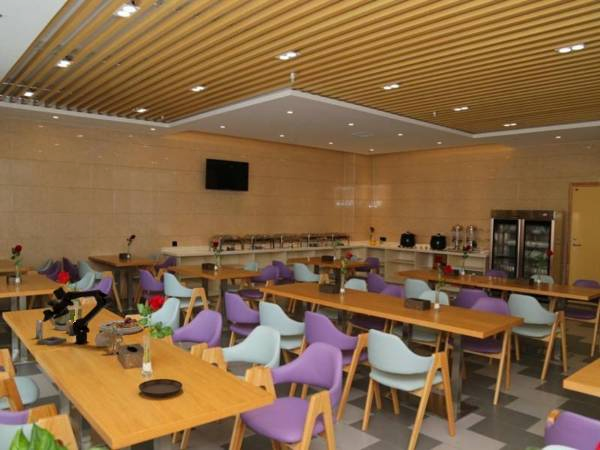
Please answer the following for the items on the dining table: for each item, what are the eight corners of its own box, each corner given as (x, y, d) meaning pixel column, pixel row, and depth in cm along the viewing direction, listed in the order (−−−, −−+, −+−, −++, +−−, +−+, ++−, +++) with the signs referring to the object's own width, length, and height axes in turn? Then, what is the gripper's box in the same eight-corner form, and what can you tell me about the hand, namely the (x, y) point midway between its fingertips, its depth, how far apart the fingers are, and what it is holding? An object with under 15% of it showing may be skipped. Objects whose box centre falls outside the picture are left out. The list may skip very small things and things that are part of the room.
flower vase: (95, 358, 320) (110, 356, 302) (87, 329, 321) (102, 326, 303) (114, 351, 329) (130, 349, 311) (107, 323, 330) (122, 320, 312)
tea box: (61, 331, 360) (62, 310, 359) (54, 328, 366) (54, 308, 366) (81, 327, 372) (82, 307, 371) (74, 325, 378) (74, 306, 377)
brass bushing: (73, 332, 356) (74, 320, 356) (69, 333, 352) (69, 321, 352) (69, 332, 357) (69, 319, 357) (64, 333, 354) (65, 320, 354)
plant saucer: (186, 385, 257) (186, 378, 257) (177, 400, 236) (177, 393, 236) (145, 384, 256) (145, 377, 256) (132, 399, 235) (133, 392, 235)
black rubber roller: (78, 334, 351) (78, 324, 350) (73, 336, 346) (73, 326, 346) (73, 334, 352) (73, 324, 352) (68, 335, 348) (68, 325, 348)
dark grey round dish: (66, 341, 332) (66, 338, 332) (51, 345, 321) (51, 342, 321) (53, 339, 336) (53, 336, 336) (37, 343, 325) (37, 340, 325)
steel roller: (43, 338, 339) (44, 320, 339) (38, 339, 335) (39, 321, 335) (39, 337, 340) (39, 319, 340) (34, 338, 337) (34, 320, 336)
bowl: (135, 336, 352) (135, 325, 352) (92, 335, 353) (92, 323, 353) (148, 327, 382) (149, 316, 382) (109, 325, 383) (109, 315, 382)
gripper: (65, 293, 343) (51, 308, 346) (45, 297, 325) (30, 313, 328) (75, 306, 341) (61, 321, 344) (55, 311, 323) (40, 326, 326)
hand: (48, 320), depth 336 cm, fingers open, 9 cm apart
